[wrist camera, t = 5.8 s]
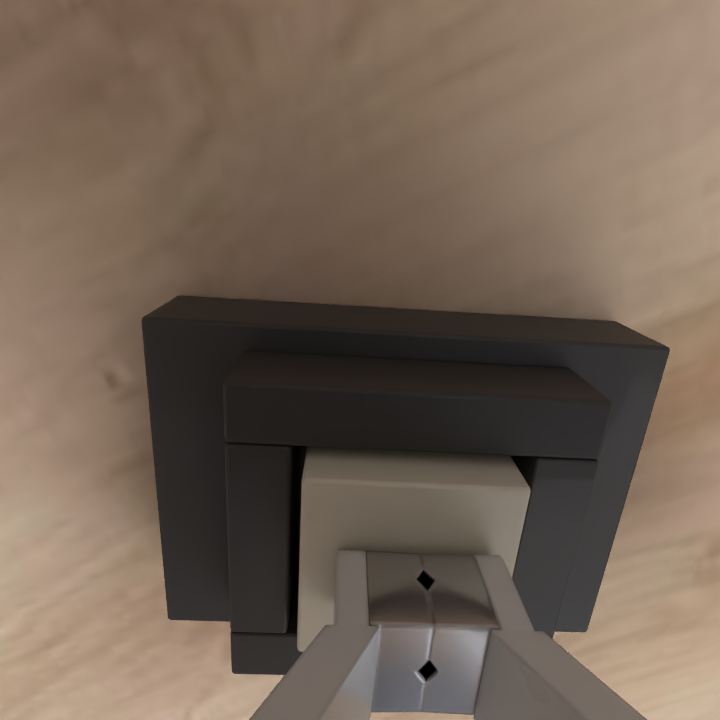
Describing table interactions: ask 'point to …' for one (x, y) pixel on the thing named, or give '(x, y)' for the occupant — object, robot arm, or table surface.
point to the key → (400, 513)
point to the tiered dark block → (380, 441)
